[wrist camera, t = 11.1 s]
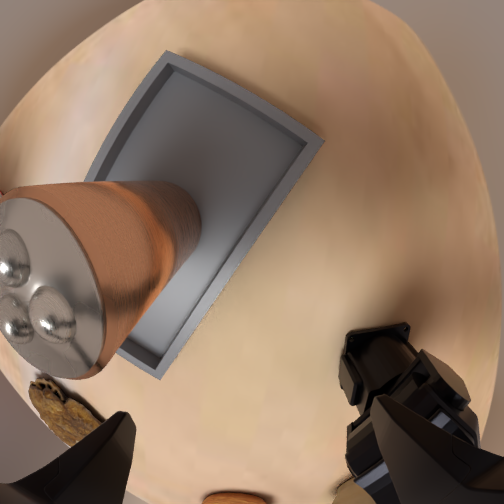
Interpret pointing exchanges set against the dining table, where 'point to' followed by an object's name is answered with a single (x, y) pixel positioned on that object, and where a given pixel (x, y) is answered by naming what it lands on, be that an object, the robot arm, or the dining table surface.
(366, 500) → the planter bowl
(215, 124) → the gray tray
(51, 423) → the decorative rock
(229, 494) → the pastry
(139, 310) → the copper cylinder
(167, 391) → the dining table surface
